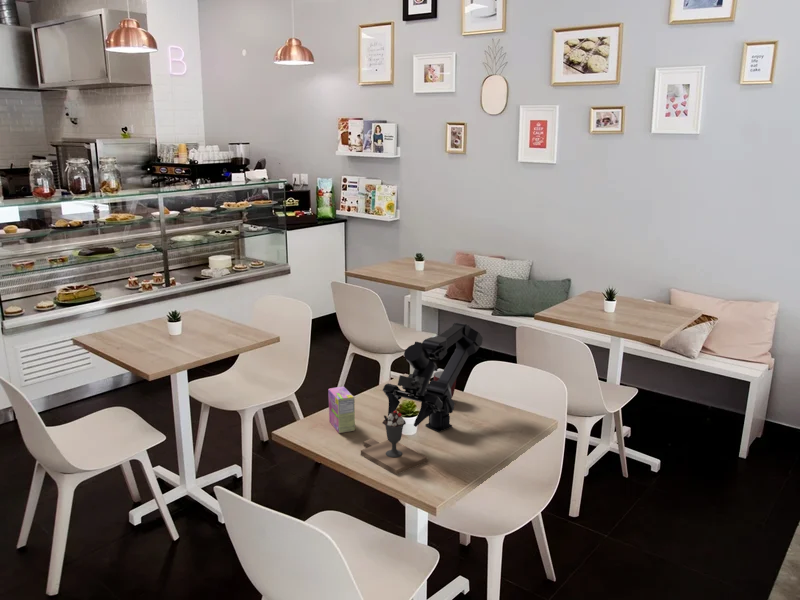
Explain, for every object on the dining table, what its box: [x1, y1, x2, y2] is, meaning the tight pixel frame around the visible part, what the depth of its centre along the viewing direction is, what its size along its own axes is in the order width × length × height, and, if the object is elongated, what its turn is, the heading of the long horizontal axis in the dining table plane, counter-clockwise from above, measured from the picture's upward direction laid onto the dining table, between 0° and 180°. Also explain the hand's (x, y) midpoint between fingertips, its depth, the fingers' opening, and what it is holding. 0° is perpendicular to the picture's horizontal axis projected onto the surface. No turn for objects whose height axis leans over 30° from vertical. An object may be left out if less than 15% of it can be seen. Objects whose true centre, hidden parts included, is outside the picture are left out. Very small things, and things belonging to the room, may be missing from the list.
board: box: [360, 438, 428, 476], centre depth 198 cm, size 20×12×2 cm, turn 42°
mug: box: [433, 370, 457, 400], centre depth 238 cm, size 11×8×10 cm
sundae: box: [382, 405, 407, 458], centre depth 194 cm, size 7×7×15 cm
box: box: [327, 386, 356, 434], centre depth 217 cm, size 10×6×12 cm, turn 23°
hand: (401, 422), depth 198 cm, fingers open, 9 cm apart
